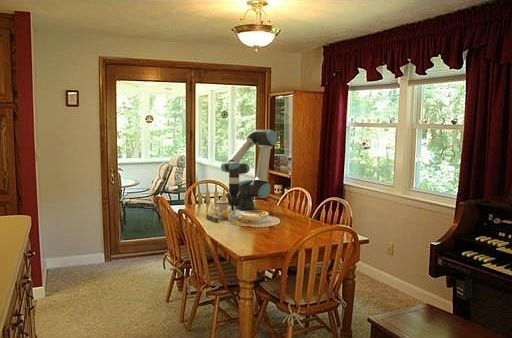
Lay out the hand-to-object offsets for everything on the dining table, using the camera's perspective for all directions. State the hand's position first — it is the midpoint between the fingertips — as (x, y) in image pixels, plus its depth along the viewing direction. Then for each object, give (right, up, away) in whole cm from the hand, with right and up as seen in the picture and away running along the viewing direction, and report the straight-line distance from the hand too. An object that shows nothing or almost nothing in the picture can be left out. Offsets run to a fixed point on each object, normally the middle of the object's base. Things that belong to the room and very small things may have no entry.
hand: (233, 214), depth 332 cm
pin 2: (-3, -3, -10) cm, 11 cm away
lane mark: (-3, -2, -1) cm, 4 cm away
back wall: (-15, -3, -10) cm, 18 cm away
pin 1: (-9, -2, -6) cm, 11 cm away
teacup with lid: (-11, -1, +13) cm, 17 cm away
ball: (-6, +1, -4) cm, 8 cm away
